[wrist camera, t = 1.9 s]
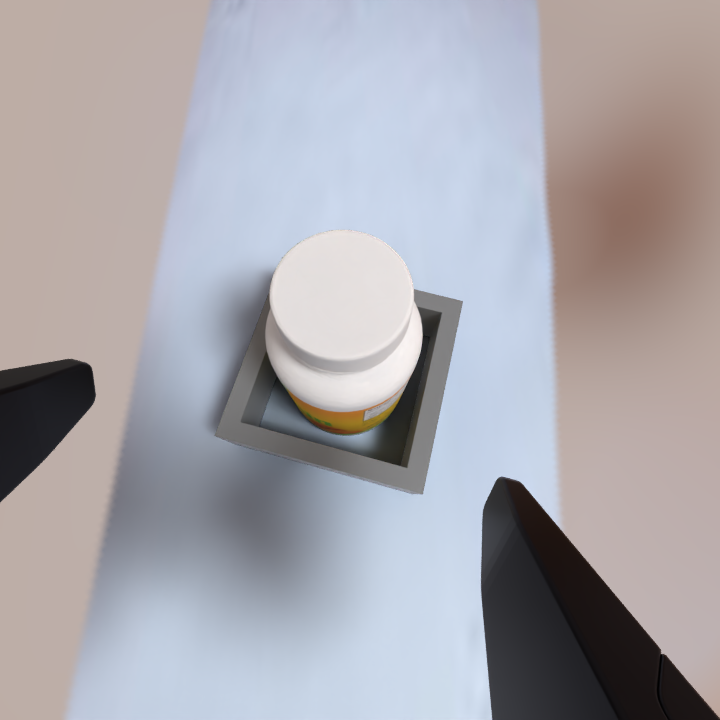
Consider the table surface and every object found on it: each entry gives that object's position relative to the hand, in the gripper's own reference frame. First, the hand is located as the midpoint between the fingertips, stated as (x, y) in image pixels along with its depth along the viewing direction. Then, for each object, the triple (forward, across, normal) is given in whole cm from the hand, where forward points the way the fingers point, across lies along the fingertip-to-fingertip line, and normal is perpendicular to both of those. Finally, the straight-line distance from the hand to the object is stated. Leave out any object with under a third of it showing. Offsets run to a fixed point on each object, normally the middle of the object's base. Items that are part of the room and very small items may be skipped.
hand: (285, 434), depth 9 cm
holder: (+10, 0, +5) cm, 12 cm away
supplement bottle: (+11, 0, +5) cm, 12 cm away
